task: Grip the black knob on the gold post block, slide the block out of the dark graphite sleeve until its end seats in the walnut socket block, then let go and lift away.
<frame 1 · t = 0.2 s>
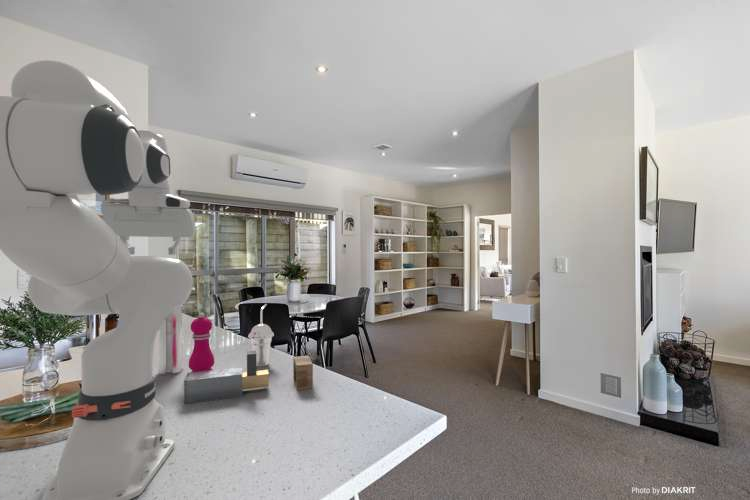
hand: (151, 254, 90), 39 cm above the countertop, tool pointing down, fingers open, 8 cm apart
cup with straw: (261, 364, 121), on the countertop
sleeve: (214, 395, 96), on the countertop
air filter: (170, 372, 113), on the countertop
pepper mill: (201, 377, 109), on the countertop
gold post block: (230, 371, 97), point 6 cm above the countertop, slide at 0.0 cm
socket block: (302, 383, 104), on the countertop
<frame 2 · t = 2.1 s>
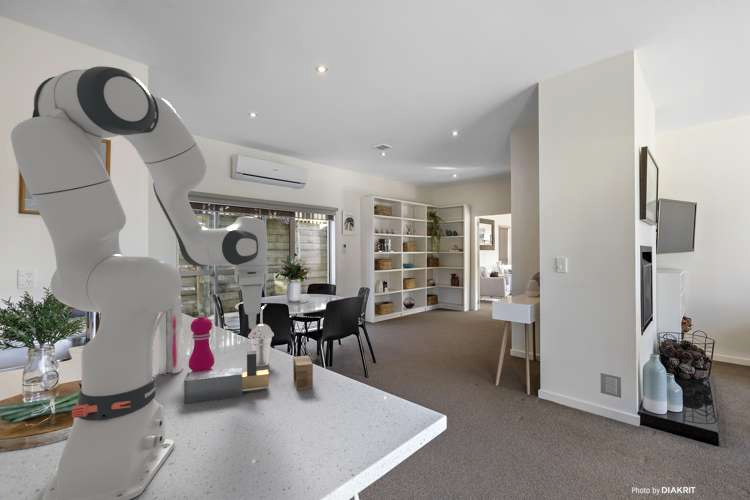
hand: (252, 323, 99), 19 cm above the countertop, tool pointing down, fingers open, 8 cm apart
nothing on the countertop moved.
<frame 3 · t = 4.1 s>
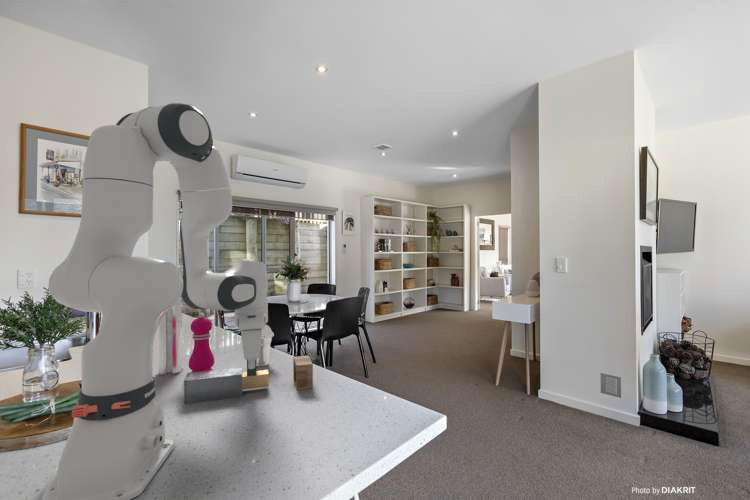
hand: (251, 365, 99), 7 cm above the countertop, tool pointing down, fingers closed on gold post block, 3 cm apart
gold post block: (230, 371, 97), point 6 cm above the countertop, slide at 0.0 cm, touching gripper
everything else where it was.
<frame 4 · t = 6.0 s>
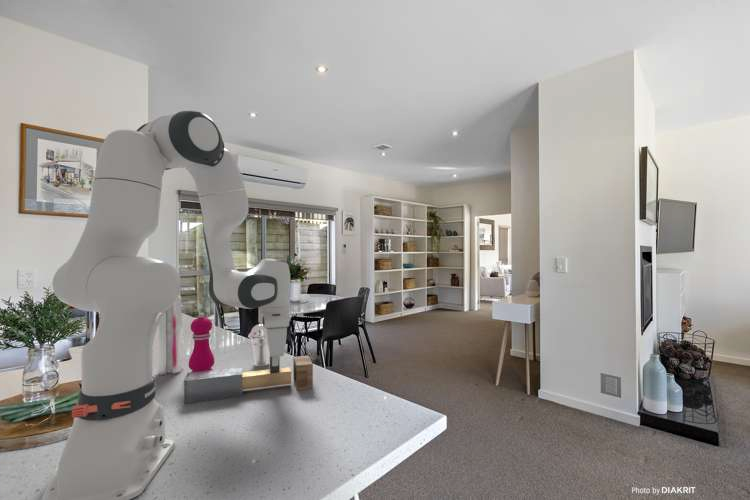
hand: (274, 362, 101), 7 cm above the countertop, tool pointing down, fingers closed on gold post block, 3 cm apart
gold post block: (254, 369, 99), point 6 cm above the countertop, slide at 6.2 cm, touching gripper
everything else where it was.
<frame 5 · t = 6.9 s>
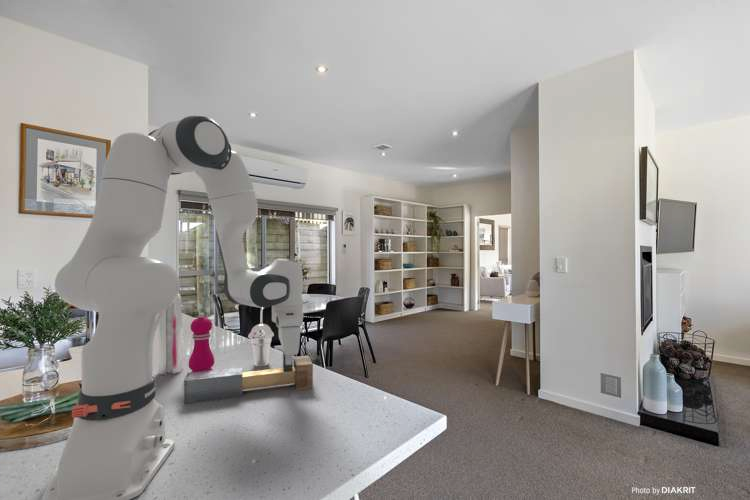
hand: (287, 361, 102), 7 cm above the countertop, tool pointing down, fingers closed on gold post block, 3 cm apart
gold post block: (267, 367, 101), point 6 cm above the countertop, slide at 9.9 cm, touching gripper
everything else where it was.
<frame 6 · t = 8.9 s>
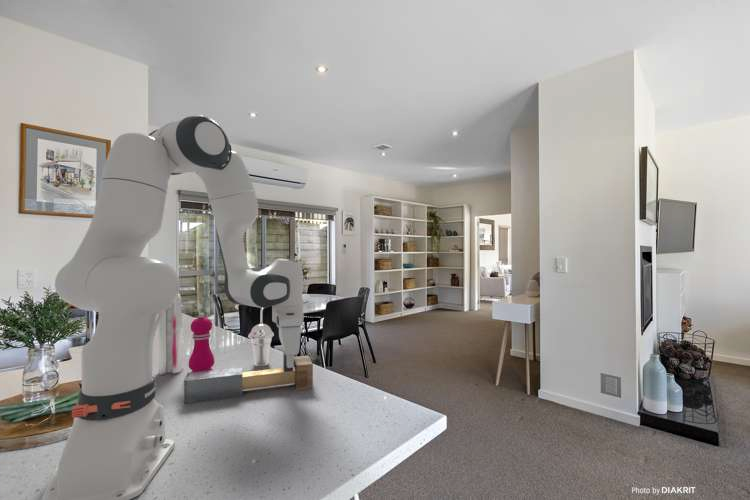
hand: (288, 361, 102), 7 cm above the countertop, tool pointing down, fingers open, 8 cm apart
gold post block: (268, 367, 101), point 6 cm above the countertop, slide at 10.0 cm
everything else where it was.
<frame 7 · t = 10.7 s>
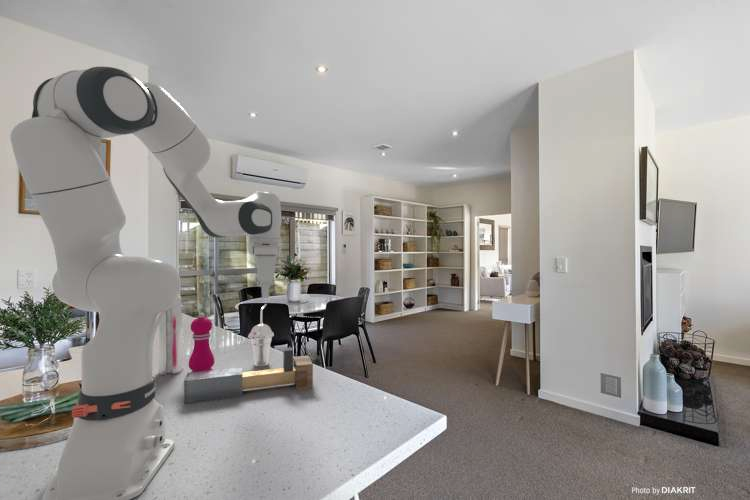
hand: (264, 296, 103), 26 cm above the countertop, tool pointing down, fingers open, 8 cm apart
nothing on the countertop moved.
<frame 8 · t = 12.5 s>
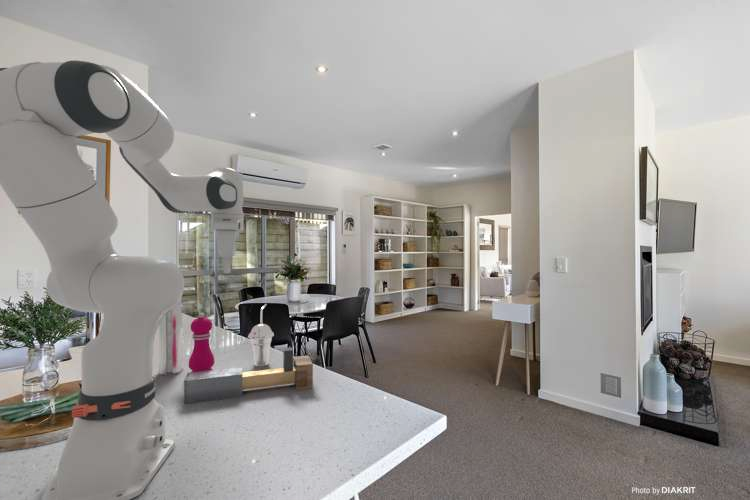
hand: (227, 271, 104), 33 cm above the countertop, tool pointing down, fingers open, 8 cm apart
nothing on the countertop moved.
at the end: gold post block slide at 10.0 cm; the gripper is holding nothing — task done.
